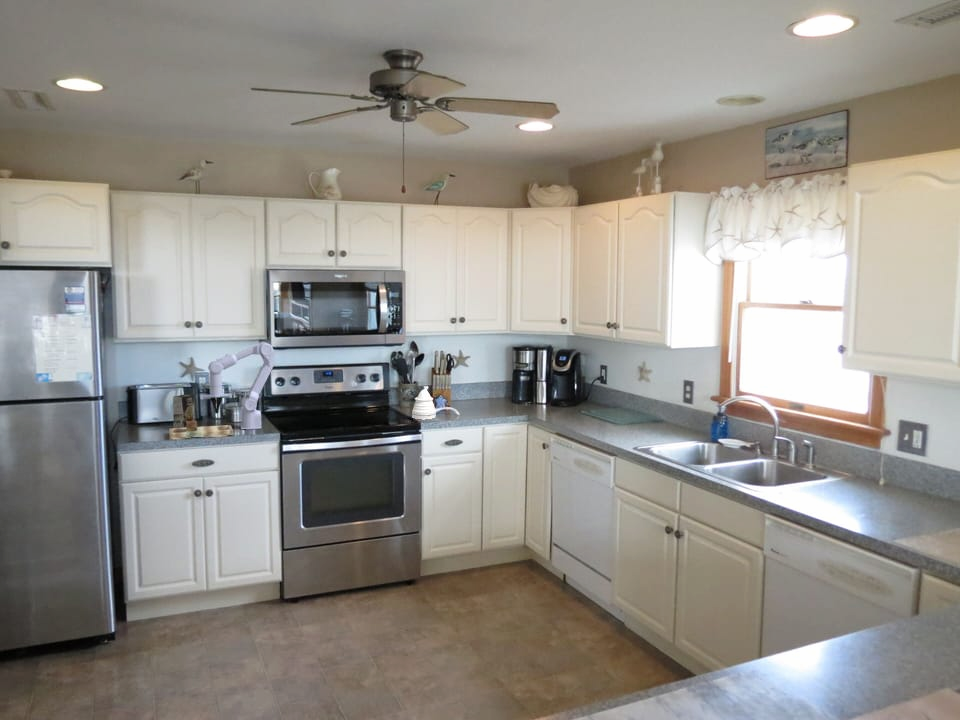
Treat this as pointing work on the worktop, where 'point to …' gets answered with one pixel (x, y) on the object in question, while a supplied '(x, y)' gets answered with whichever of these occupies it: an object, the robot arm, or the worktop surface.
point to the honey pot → (424, 406)
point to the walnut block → (191, 425)
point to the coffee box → (183, 410)
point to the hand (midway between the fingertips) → (216, 413)
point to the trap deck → (201, 432)
